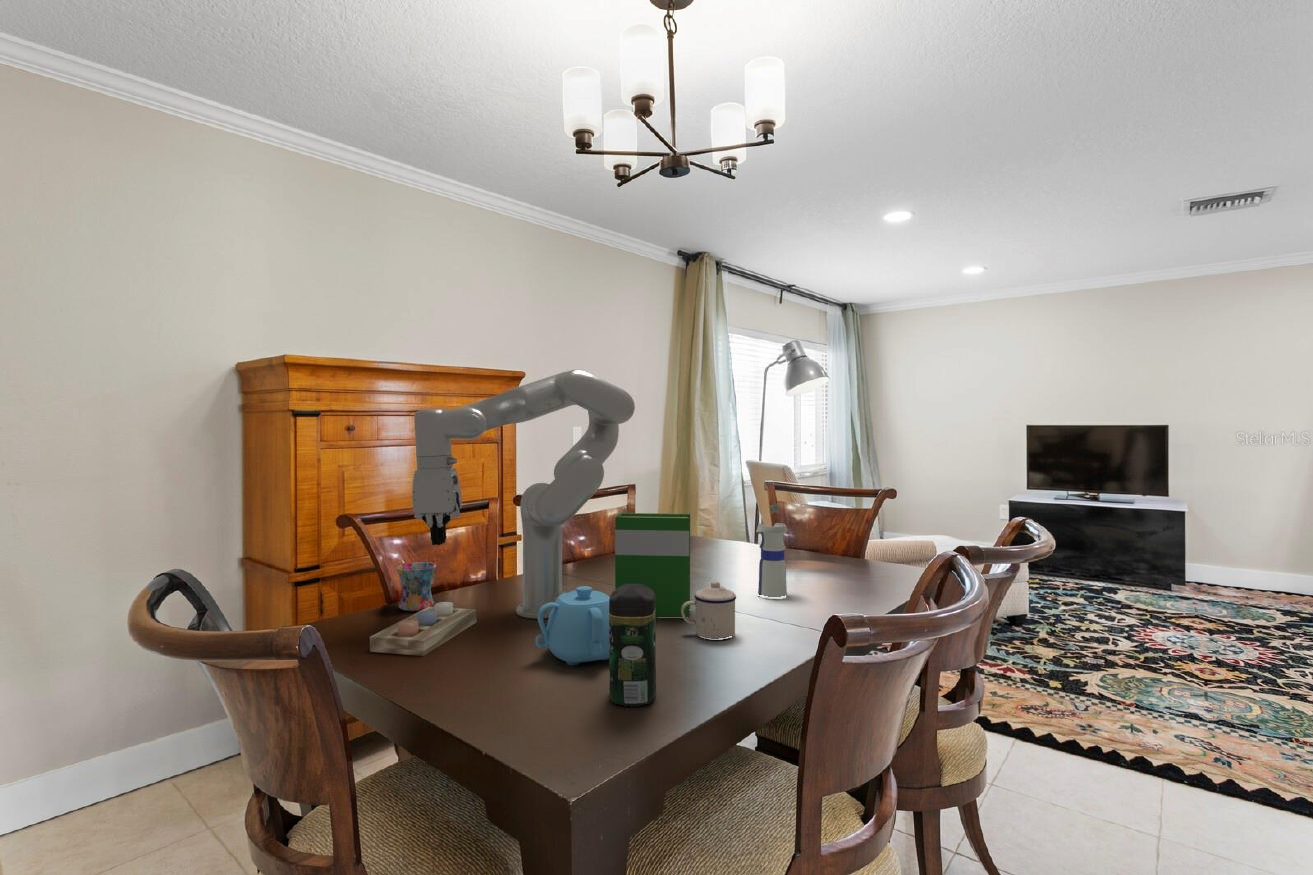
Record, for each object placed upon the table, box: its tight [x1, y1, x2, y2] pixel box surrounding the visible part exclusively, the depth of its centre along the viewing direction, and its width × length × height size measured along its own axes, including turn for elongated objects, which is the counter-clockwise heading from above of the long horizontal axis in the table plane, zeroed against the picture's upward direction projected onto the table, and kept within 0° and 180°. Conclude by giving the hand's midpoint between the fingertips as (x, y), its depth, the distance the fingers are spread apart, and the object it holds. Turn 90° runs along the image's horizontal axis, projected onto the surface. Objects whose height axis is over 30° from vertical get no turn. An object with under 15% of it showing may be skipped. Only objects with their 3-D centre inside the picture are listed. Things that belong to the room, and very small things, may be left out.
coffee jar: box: [608, 584, 657, 708], centre depth 107 cm, size 10×8×19 cm
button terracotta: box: [397, 620, 418, 637], centre depth 130 cm, size 4×4×4 cm
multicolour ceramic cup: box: [396, 561, 437, 612], centre depth 160 cm, size 12×9×11 cm
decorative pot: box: [534, 585, 610, 666], centre depth 126 cm, size 16×16×14 cm
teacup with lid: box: [681, 580, 737, 639], centre depth 138 cm, size 12×9×12 cm
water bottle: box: [755, 501, 789, 597], centre depth 170 cm, size 8×9×25 cm
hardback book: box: [614, 512, 691, 618], centre depth 154 cm, size 18×7×24 cm, turn 85°
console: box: [369, 606, 477, 657], centre depth 137 cm, size 12×22×3 cm, turn 169°
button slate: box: [416, 610, 437, 626], centre depth 137 cm, size 4×4×4 cm
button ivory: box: [433, 601, 454, 617], centre depth 144 cm, size 4×4×4 cm
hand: (438, 543), depth 144 cm, fingers closed
